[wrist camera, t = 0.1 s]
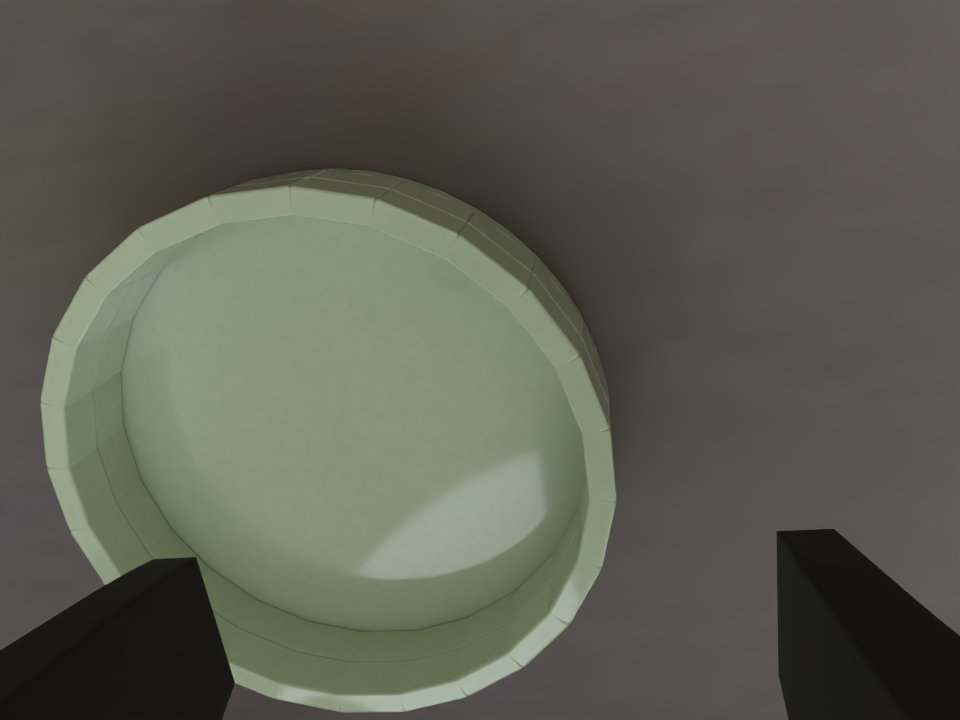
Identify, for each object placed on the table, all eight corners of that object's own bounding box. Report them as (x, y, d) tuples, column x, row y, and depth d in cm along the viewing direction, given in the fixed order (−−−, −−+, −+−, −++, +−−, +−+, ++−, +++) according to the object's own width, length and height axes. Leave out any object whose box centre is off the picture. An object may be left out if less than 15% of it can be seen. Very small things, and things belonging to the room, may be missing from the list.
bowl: (630, 627, 22) (636, 711, 19) (188, 638, 24) (135, 714, 21) (585, 132, 17) (584, 146, 14) (47, 203, 19) (-44, 228, 17)
